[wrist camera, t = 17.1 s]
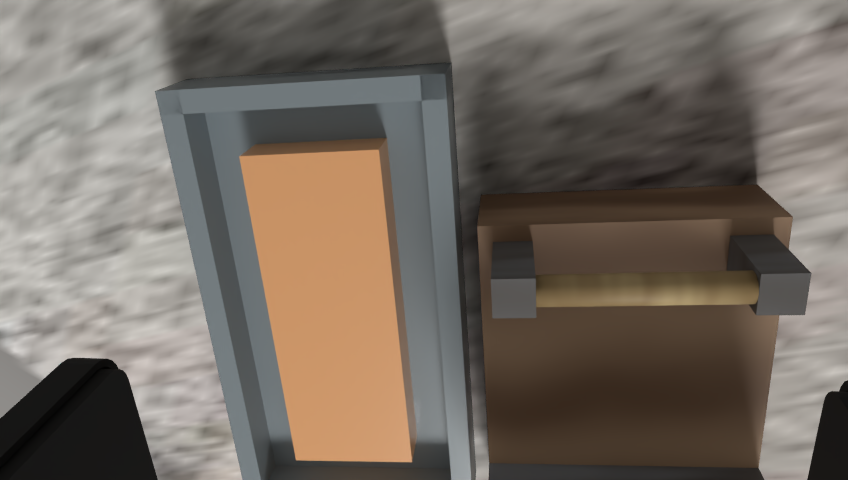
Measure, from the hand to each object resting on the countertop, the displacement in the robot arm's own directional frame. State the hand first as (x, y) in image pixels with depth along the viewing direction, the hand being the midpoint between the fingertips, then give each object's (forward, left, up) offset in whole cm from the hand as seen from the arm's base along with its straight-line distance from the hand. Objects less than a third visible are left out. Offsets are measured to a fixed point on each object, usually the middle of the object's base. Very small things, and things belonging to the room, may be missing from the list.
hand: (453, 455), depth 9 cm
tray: (+9, -8, -22) cm, 25 cm away
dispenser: (+12, +5, -22) cm, 26 cm away
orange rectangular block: (+9, -8, -21) cm, 24 cm away
